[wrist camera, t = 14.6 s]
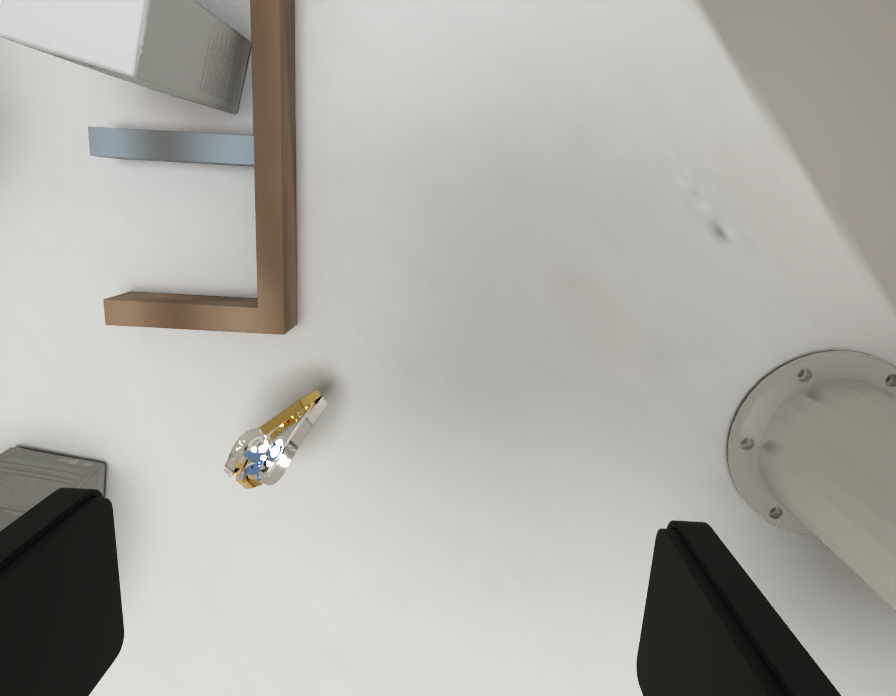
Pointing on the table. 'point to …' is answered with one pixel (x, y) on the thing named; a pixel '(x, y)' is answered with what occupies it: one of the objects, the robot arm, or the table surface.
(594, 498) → the table surface
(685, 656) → the robot arm
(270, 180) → the slot rack
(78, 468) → the skincare box
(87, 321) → the table surface
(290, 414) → the ring
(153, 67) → the skincare box
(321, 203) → the table surface
